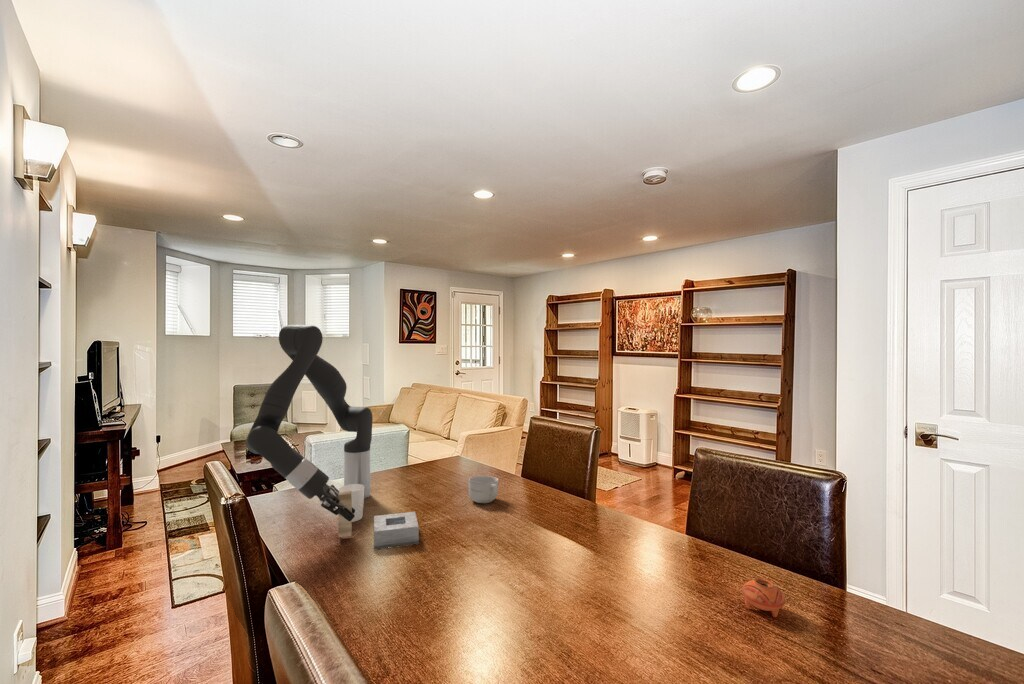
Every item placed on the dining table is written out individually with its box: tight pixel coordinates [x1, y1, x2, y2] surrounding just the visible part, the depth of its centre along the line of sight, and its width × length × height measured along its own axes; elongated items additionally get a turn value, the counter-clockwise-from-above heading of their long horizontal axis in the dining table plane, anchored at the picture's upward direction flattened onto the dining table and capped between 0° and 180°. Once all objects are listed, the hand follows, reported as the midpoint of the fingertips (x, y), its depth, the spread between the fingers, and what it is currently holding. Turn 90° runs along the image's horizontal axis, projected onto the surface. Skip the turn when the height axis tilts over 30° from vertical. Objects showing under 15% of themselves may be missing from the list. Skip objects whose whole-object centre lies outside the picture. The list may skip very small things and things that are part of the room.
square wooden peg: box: [338, 490, 353, 538], centre depth 131 cm, size 3×3×12 cm
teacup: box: [468, 475, 499, 504], centre depth 162 cm, size 14×11×8 cm
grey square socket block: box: [373, 511, 420, 550], centre depth 131 cm, size 12×12×5 cm
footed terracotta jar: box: [741, 577, 786, 618], centre depth 95 cm, size 8×8×7 cm
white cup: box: [338, 484, 365, 523], centre depth 147 cm, size 8×8×10 cm
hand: (352, 515), depth 132 cm, fingers closed on square wooden peg, 3 cm apart
